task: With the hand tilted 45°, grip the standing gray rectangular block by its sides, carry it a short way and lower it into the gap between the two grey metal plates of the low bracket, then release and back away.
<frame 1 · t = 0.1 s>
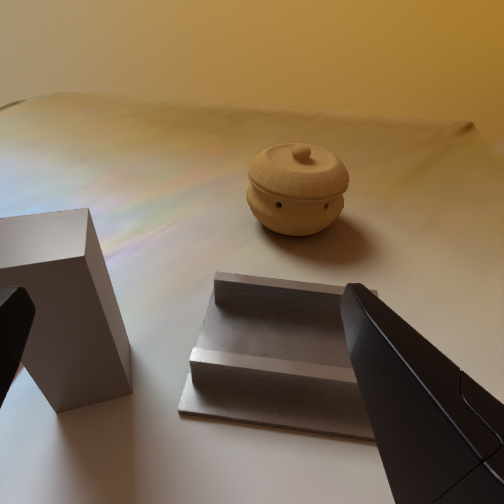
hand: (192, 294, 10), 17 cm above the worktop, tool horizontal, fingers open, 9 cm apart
gray rectangular block: (96, 374, 25), on the worktop
pot: (291, 222, 43), on the worktop
bracket: (288, 348, 28), on the worktop
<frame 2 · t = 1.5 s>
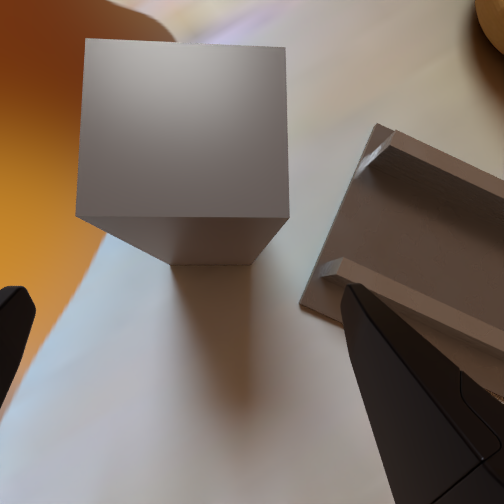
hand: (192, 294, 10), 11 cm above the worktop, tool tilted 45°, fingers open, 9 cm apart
gray rectangular block: (210, 229, 21), on the worktop
bracket: (441, 259, 22), on the worktop
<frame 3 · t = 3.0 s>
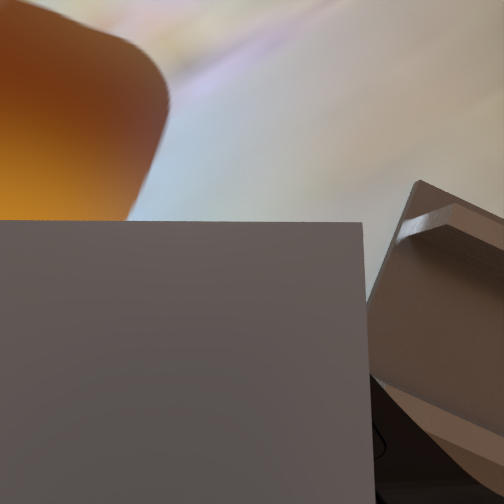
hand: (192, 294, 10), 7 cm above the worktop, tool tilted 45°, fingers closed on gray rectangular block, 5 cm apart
gray rectangular block: (206, 321, 16), on the worktop, touching gripper
bracket: (502, 356, 17), on the worktop
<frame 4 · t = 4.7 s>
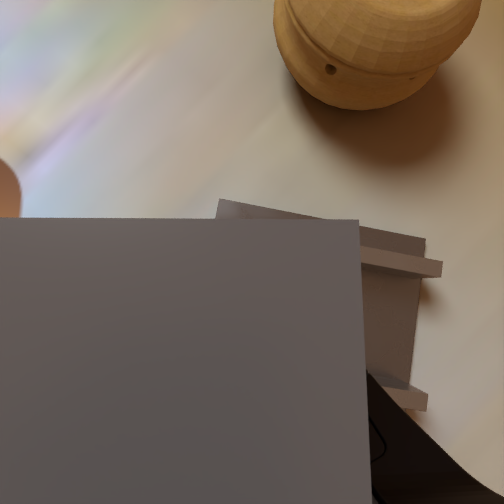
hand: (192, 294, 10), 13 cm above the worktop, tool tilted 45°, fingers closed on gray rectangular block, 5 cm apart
gray rectangular block: (205, 321, 16), point 7 cm above the worktop, touching gripper
pot: (341, 61, 26), on the worktop
bracket: (308, 310, 23), on the worktop
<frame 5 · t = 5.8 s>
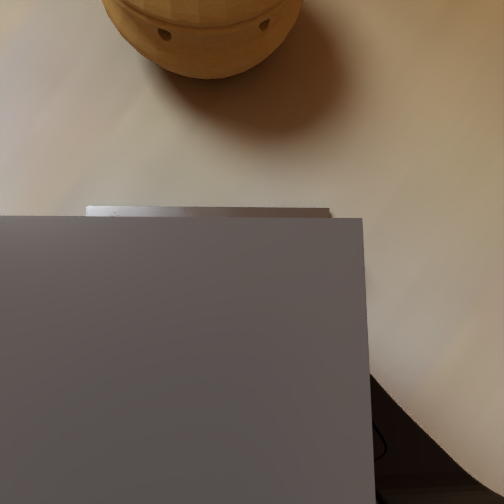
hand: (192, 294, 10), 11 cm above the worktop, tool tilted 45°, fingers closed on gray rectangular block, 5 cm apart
gray rectangular block: (206, 320, 16), point 4 cm above the worktop, touching gripper
pot: (207, 27, 23), on the worktop
bracket: (211, 312, 21), on the worktop
when the fingers open (9 cm above the worktop, at t = 6.7 s): gray rectangular block drops 1 cm, resting on bracket.
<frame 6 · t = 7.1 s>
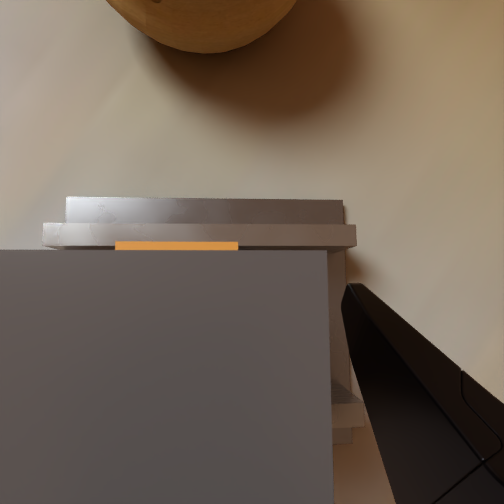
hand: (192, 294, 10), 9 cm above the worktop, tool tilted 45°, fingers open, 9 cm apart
gray rectangular block: (208, 318, 18), point 1 cm above the worktop, touching bracket
bracket: (208, 318, 18), on the worktop
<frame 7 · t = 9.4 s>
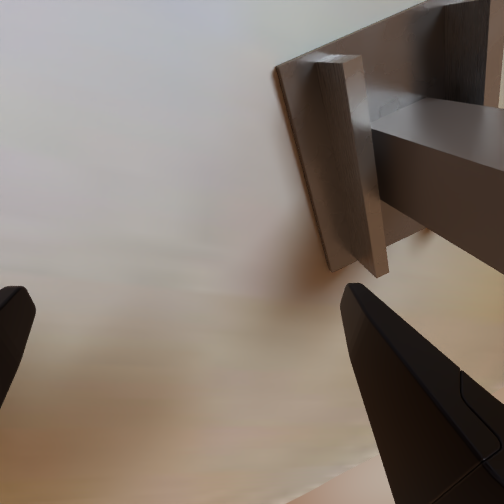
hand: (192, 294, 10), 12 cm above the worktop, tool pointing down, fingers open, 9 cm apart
gray rectangular block: (398, 148, 22), resting on bracket
bracket: (393, 147, 23), on the worktop
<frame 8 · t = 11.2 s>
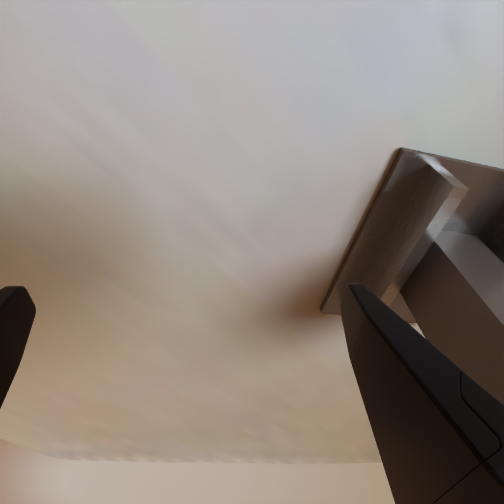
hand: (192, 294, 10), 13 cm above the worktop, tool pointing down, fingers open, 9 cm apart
gray rectangular block: (431, 257, 26), resting on bracket
bracket: (428, 253, 27), on the worktop
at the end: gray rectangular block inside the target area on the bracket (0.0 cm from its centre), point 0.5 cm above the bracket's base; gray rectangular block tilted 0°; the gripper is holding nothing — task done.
